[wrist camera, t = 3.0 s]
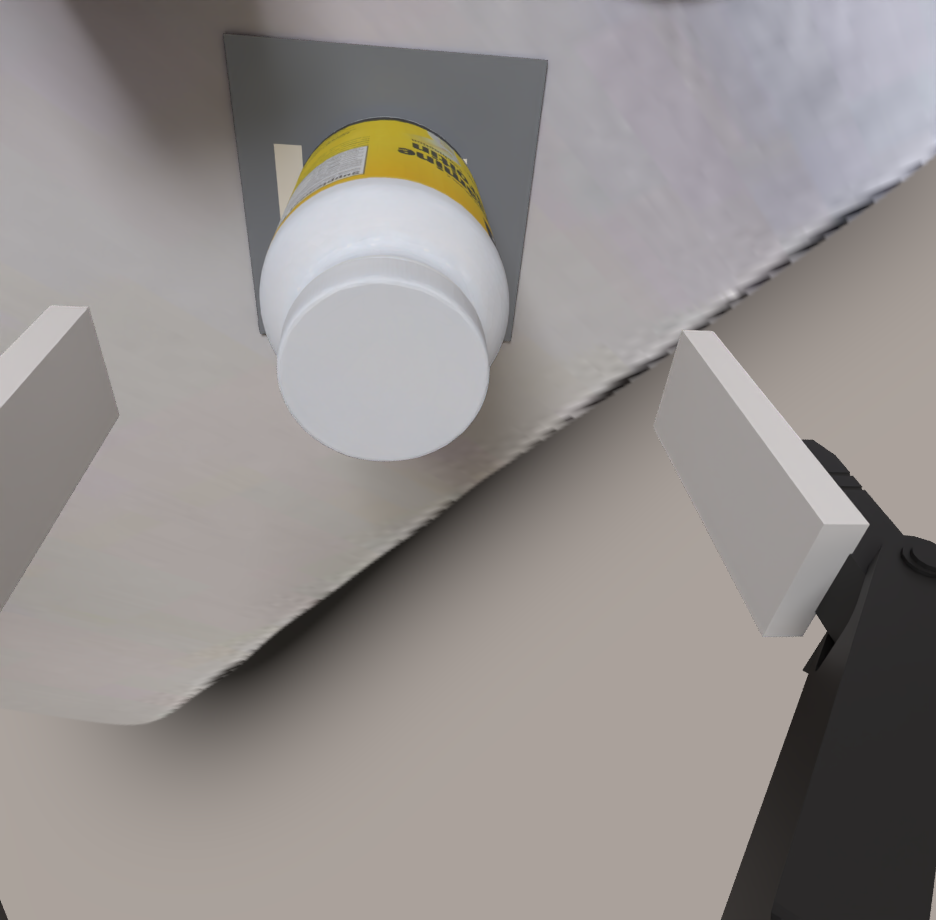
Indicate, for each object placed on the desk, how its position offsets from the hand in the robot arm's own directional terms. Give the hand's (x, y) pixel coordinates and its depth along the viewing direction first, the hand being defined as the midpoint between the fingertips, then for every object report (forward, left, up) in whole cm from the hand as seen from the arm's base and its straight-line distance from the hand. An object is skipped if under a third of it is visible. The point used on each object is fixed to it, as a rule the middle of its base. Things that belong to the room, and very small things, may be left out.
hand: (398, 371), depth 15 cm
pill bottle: (0, 0, -11) cm, 11 cm away
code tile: (0, 0, -11) cm, 11 cm away
